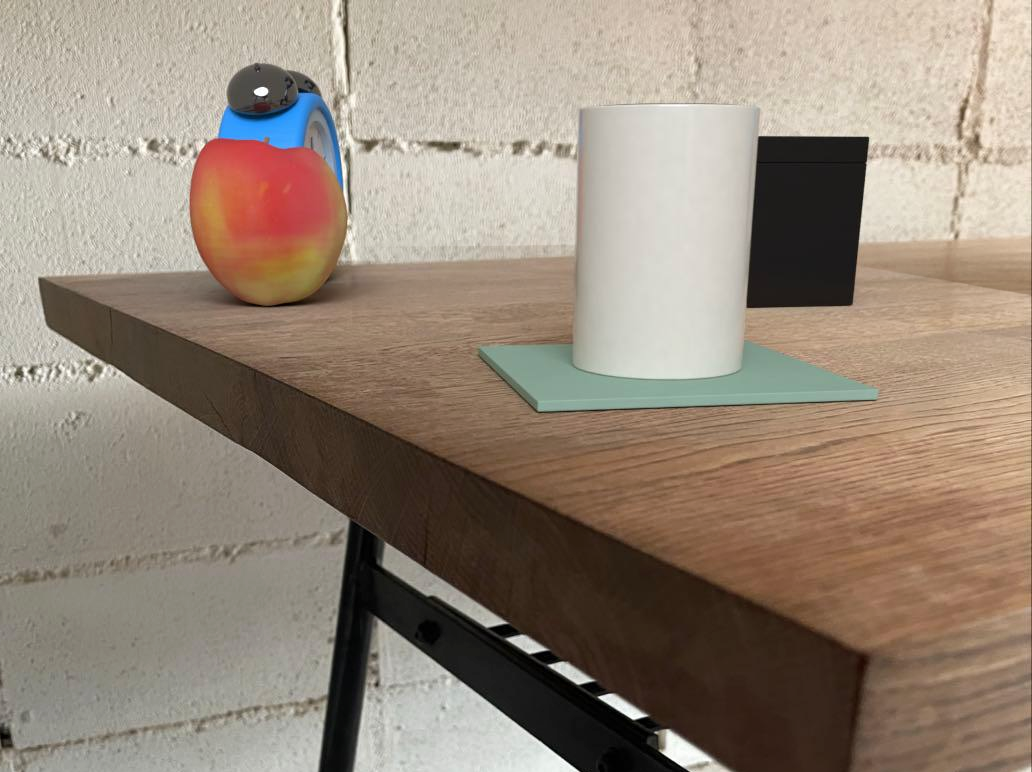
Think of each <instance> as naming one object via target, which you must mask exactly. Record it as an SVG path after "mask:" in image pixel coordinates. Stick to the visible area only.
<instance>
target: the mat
mask: <svg viewBox="0 0 1032 772" xmlns="http://www.w3.org/2000/svg"><path fill="white" fill-rule="evenodd" d="M572 346H573V343H556V344H555V343H554V344H552V343H551V344H550V343H549V344H518V345H517V344H515V345H513V344H511V345H479V346H477V355H478V356H479V357H480V358H481V359H482V360H483V361H484V362H485V363H486V364H487V365H488V366H490V367H491V368H492V369H493V370H494V372H496V373H497V374H498V375H499V376H500V377H501V378H502V379H503V380H504V381H505V382H506V383H507V384H508V385H509V386H510V387H511V388H512V389H513V390H514V391H516V392H517V393H518V395H520V396H521V397H522V398H523V399H524V401H526V402H527V403H528V404H529V405H530V406H531V407H532V408H533V409H534V410H536V412H538V413H545V412H573V411H599V410H601V411H602V410H628V409H629V410H631V409H655V408H684V407H685V408H686V407H687V408H688V407H711V406H712V407H714V406H740V405H741V406H742V405H765V404H767V405H768V404H769V405H770V404H771V405H772V404H794V403H795V404H796V403H799V404H800V403H824V402H850V401H851V402H853V401H854V402H855V401H876V400H878V399H879V392H880V389H878V388H876V387H873V386H870V385H868V384H866V383H863V382H860V381H857V380H854V379H851V378H849V377H846V376H844V375H841V374H839V373H836V372H833V371H830V370H827V369H825V368H823V367H820V366H817V365H814V364H811V363H809V362H807V361H804V360H801V359H799V358H796V357H793V356H791V355H787V354H785V353H782V352H779V351H776V350H774V349H772V348H769V347H765V346H763V345H760V344H758V343H755V342H752V341H750V340H747V339H745V338H744V349H743V364H742V368H741V370H740V371H738V372H736V373H733V374H730V375H726V376H721V377H715V378H706V379H692V380H645V379H629V378H619V377H611V376H604V375H598V374H593V373H589V372H585V371H583V370H580V369H578V368H576V367H574V366H573V363H572Z"/></svg>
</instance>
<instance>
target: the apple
mask: <svg viewBox="0 0 1032 772" xmlns="http://www.w3.org/2000/svg"><path fill="white" fill-rule="evenodd" d="M269 139H270V138H269V137H266V136H265V139H264V142H262V141H258V140H236V139H227V138H218V137H217V138H213V139H210V140H209V141H207V143H205V144H204V145H203V147H202V148H201V150H200V151H199V153H198V155H197V158H196V160H195V163H194V166H193V170H192V175H191V179H190V187H189V203H188V204H189V206H188V207H189V220H190V227H191V233H192V236H193V241H194V244H195V247H196V249H197V252H198V254H199V256H200V258H201V260H202V262H203V264H204V265H205V267H206V269H208V271H209V272H210V274H211V275H212V276H213V278H214V279H215V280H216V281H217V282H218V283H219V284H220V285H221V286H222V287H223V288H224V289H225V290H226V291H228V292H229V293H230V294H231V295H233V296H234V297H236V298H238V299H239V300H241V301H244V302H246V303H249V304H253V305H259V306H264V307H271V306H276V305H282V304H288V303H289V304H290V303H295V302H298V301H302V300H304V299H306V298H308V297H310V296H311V295H313V294H314V293H315V292H317V291H318V290H319V289H320V288H321V287H323V285H324V284H325V283H326V281H327V280H328V279H329V277H330V276H331V275H332V273H333V271H334V269H335V267H336V265H337V264H338V261H339V258H340V256H341V253H342V251H343V248H344V245H345V241H346V237H347V231H348V217H349V216H348V208H347V202H346V198H345V195H344V191H343V192H342V189H341V186H340V184H339V182H338V180H337V178H336V176H335V174H334V173H333V171H332V169H331V168H330V166H329V165H328V164H327V162H326V161H325V160H324V159H323V158H322V157H321V156H320V155H319V154H318V153H317V152H315V151H314V150H312V149H310V148H306V147H293V148H286V149H284V148H277V147H275V146H272V145H270V144H268V142H269Z"/></svg>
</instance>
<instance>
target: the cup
mask: <svg viewBox="0 0 1032 772" xmlns="http://www.w3.org/2000/svg"><path fill="white" fill-rule="evenodd" d="M760 121H761V108H760V107H758V106H755V105H747V104H746V105H745V104H733V103H710V102H709V103H708V102H707V103H705V102H657V103H656V102H651V103H650V102H649V103H648V102H647V103H621V104H605V105H604V104H603V105H593V106H584V107H580V108H579V109H577V131H576V132H577V133H576V134H577V135H576V172H575V173H576V175H575V176H576V177H575V181H576V182H575V221H574V223H575V224H574V225H575V226H574V227H575V228H574V262H573V263H574V266H573V303H572V304H573V305H572V307H573V308H572V311H573V312H572V344H573V346H572V363H573V366H574V367H576V368H578V369H580V370H583V371H585V372H589V373H593V374H598V375H604V376H611V377H619V378H629V379H645V380H692V379H706V378H715V377H721V376H726V375H730V374H733V373H736V372H738V371H740V370H741V368H742V364H743V349H744V339H745V332H746V321H747V308H748V307H747V293H748V279H749V265H750V251H751V237H752V223H753V208H754V194H755V180H756V166H757V152H758V138H759V136H760V124H761V122H760Z"/></svg>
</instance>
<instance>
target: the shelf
mask: <svg viewBox="0 0 1032 772" xmlns="http://www.w3.org/2000/svg"><path fill="white" fill-rule="evenodd" d="M869 147H870V136H853V135H852V136H845V135H844V136H843V135H842V136H840V135H839V136H833V135H832V136H831V135H829V136H828V135H827V136H826V135H825V136H822V135H821V136H820V135H819V136H817V135H811V136H809V135H759V138H758V152H757V166H756V180H755V194H754V208H753V223H752V237H751V251H750V265H749V279H748V293H747V307H746V308H777V307H778V308H779V307H780V308H781V307H782V308H783V307H824V306H825V307H826V306H829V307H831V306H853V305H854V295H855V287H856V275H857V266H858V265H857V264H858V257H859V255H858V254H859V246H860V238H861V237H860V235H861V226H862V215H863V207H864V195H865V184H866V175H867V166H868V165H867V164H868V163H867V162H868V157H869Z"/></svg>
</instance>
